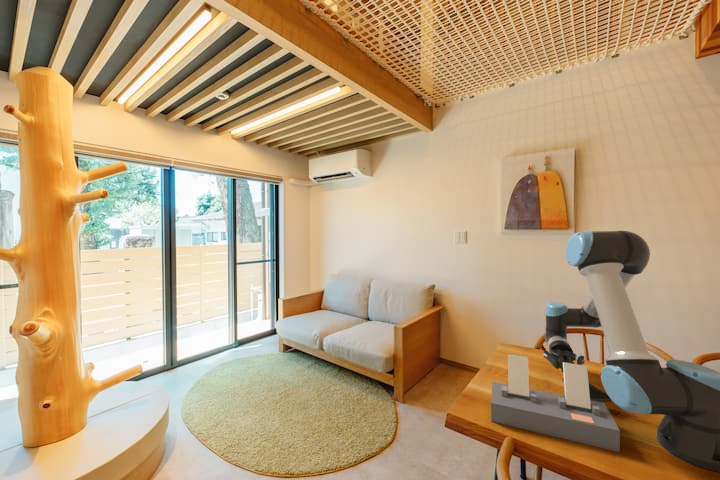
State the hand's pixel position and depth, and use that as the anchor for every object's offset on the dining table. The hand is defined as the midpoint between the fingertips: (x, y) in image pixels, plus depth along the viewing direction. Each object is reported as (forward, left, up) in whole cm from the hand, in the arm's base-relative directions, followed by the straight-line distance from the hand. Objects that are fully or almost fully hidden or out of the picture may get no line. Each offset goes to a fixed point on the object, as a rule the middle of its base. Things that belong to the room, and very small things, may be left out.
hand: (572, 376), depth 96 cm
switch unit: (+3, +9, -13) cm, 16 cm away
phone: (+3, -22, -14) cm, 26 cm away
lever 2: (-4, +5, -7) cm, 9 cm away
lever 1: (+10, +13, -7) cm, 18 cm away
